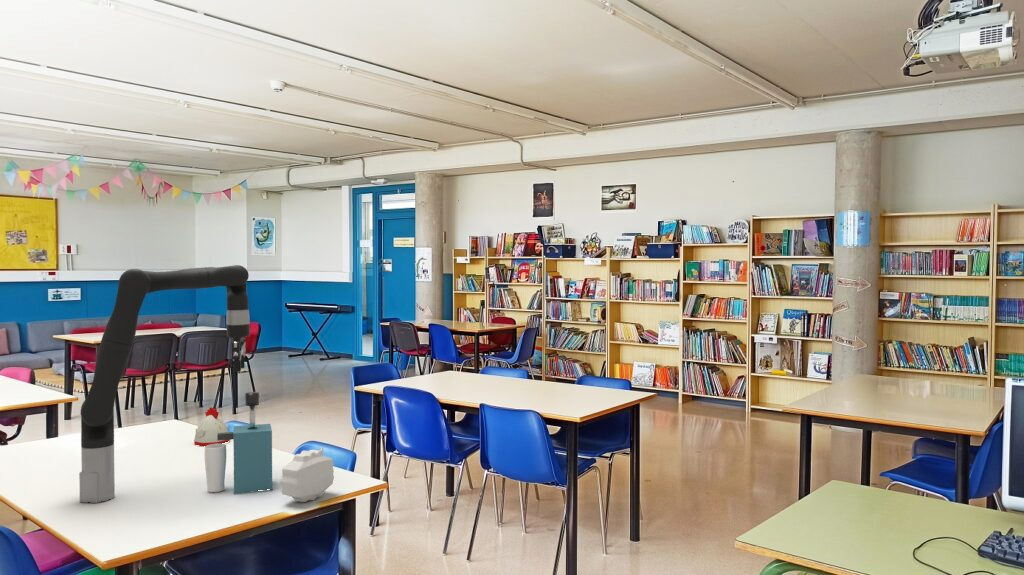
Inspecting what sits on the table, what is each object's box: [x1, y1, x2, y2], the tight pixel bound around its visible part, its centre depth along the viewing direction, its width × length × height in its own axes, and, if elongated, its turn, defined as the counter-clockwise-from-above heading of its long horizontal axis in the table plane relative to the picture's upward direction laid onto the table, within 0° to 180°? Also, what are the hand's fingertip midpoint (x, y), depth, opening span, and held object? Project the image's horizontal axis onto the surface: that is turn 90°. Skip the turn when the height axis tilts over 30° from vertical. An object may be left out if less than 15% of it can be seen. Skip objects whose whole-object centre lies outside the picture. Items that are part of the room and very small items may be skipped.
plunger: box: [244, 391, 260, 429], centre depth 253 cm, size 4×4×15 cm
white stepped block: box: [279, 445, 335, 503], centre depth 240 cm, size 11×18×16 cm, turn 152°
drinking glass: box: [204, 444, 227, 493], centre depth 249 cm, size 7×7×15 cm
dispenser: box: [217, 423, 273, 494], centre depth 252 cm, size 17×12×20 cm
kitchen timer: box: [193, 406, 230, 447], centre depth 318 cm, size 14×14×15 cm
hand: (239, 369), depth 258 cm, fingers open, 8 cm apart
